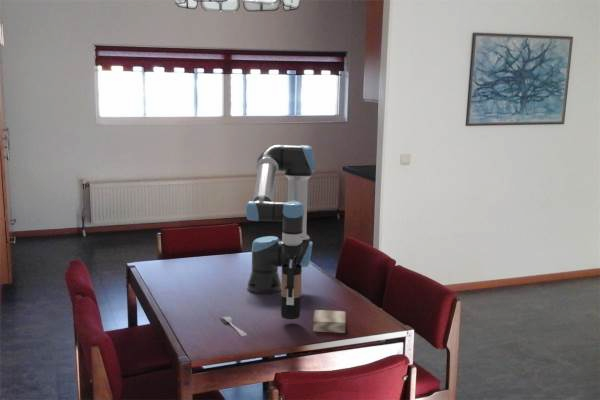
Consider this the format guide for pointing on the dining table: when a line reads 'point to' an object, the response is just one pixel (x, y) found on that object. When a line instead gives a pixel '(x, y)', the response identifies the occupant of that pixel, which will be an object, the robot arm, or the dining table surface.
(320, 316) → the stand
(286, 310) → the travel mug
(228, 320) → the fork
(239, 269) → the dining table surface
